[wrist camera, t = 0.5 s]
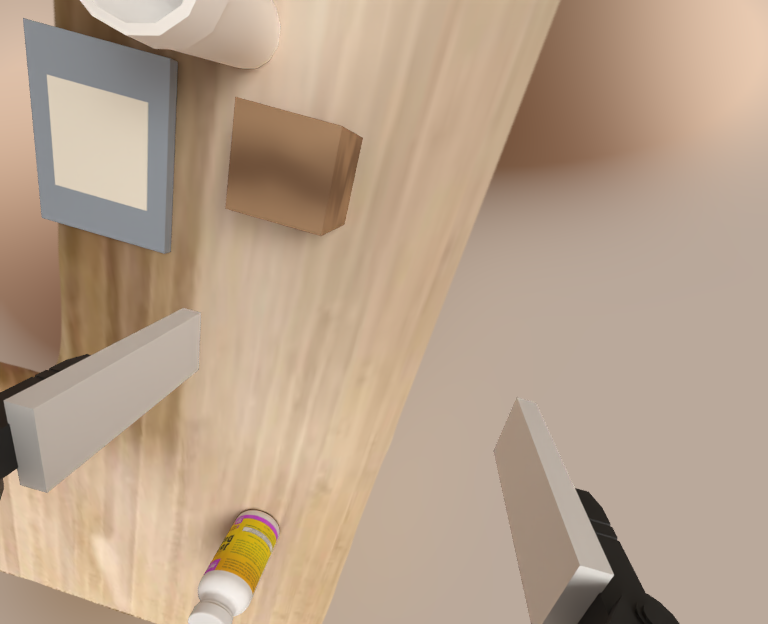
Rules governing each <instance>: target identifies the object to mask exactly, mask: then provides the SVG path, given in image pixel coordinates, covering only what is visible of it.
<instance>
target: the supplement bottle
mask: <svg viewBox="0 0 768 624" xmlns="http://www.w3.org/2000/svg"><path fill="white" fill-rule="evenodd" d="M279 534H280V530H279V526H278V524H277V522H276V521H275V520H274V519H273V518H272V517H271V516H270V515H268V514H266V513H264V512H262V511H258V510H248V511H245V512H243V513H241V514H240V515H239V516H238V517H237V519H236V520H235V522H234V524H233V525H232V527H231V529H230V531H229V532H228V534H227V536H226V537H225V539H224V541H223V543H222V544H221V546H220V548H219V549H218V551H217V553H216V555H215V556H214V558H213V560H212V562H211V563H210V565H209V567H208V568H207V570H206V572H205V574H204V575H203V577H202V579H201V581H200V583H199V586H198V597H199V599H200V602H199V603H198V604H197V605H196V606H195V607H194V609H193V611H192V613H191V614H190V616H189V619H188V623H189V624H232V620H233V616H237V615H239V614H241V613H242V612H244V611H245V610H246V609H247V607H248V606H249V604H250V602H251V600H252V597H253V595H254V593H255V590H256V588H257V586H258V584H259V581H260V579H261V577H262V574H263V572H264V570H265V568H266V565H267V563H268V561H269V559H270V556H271V554H272V552H273V550H274V547H275V545H276V543H277V540H278V538H279Z"/></svg>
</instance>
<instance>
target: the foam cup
mask: <svg viewBox="0 0 768 624" xmlns="http://www.w3.org/2000/svg"><path fill="white" fill-rule="evenodd" d="M80 1H81V2H82V3H83V5H84V6H85V7H86V9H87V10H88V11H89V12H90V14H91V15H92V16H93V17H95V18H97V19H98V20H100V21H102V22H104V23H105V24H107V25H109V26H111V27H112V28H114V29H116V30H118V31H119V32H121V33H123V34H125V35H126V36H128V37H131V38H133V39H135V40H137V41H139V42H141V43H143V44H146V45H148V46H150V47H152V48H154V49H170V50H174V51H178V52H181V53H185V54H189V55H192V56H196V57H200V58H203V59H207V60H211V61H214V62H218V63H222V64H225V65H229V66H233V67H236V68H241V69H257V68H258V67H260V66H262V65H263V64H265V63H267V62H268V61H270V59H271V57H272V56H273V54H274V52H275V51H276V49H277V47H278V44H279V36H280V29H281V26H280V21H279V17H278V12H277V8H276V6H275V4H274V2H273V0H80Z"/></svg>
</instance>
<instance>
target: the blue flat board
mask: <svg viewBox="0 0 768 624" xmlns="http://www.w3.org/2000/svg"><path fill="white" fill-rule="evenodd" d="M23 22H24V33H25V44H26V55H27V66H28V75H29V87H30V98H31V108H32V119H33V129H34V140H35V150H36V160H37V171H38V183H39V192H40V204H41V214H42V218H44V219H48V220H52V221H55V222H58V223H61V224H65V225H68V226H72V227H75V228H79V229H82V230H85V231H89V232H92V233H96V234H99V235H103V236H106V237H109V238H113V239H116V240H120V241H123V242H127V243H130V244H133V245H137V246H140V247H144V248H147V249H151V250H154V251H157V252H161V253H168V252H171V231H172V205H173V178H174V152H175V125H176V99H177V72H178V62H177V61H175V60H173V59H170V58H167V57H163V56H159V55H156V54H152V53H149V52H145V51H141V50H138V49H134V48H130V47H127V46H123V45H119V44H116V43H112V42H108V41H105V40H101V39H97V38H94V37H90V36H87V35H83V34H79V33H76V32H72V31H68V30H65V29H61V28H57V27H54V26H50V25H46V24H43V23H39V22H35V21H32V20H28V19H25V18H23Z"/></svg>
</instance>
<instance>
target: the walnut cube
mask: <svg viewBox="0 0 768 624" xmlns="http://www.w3.org/2000/svg"><path fill="white" fill-rule="evenodd" d="M362 139H363V138H362V137H360V136H358V135H357V134H355V133H353V132H351V131H350V130H348V129H346V128H344V127H343V126H339V125H336V124H332V123H329V122H325V121H321V120H318V119H314V118H310V117H307V116H303V115H300V114H296V113H292V112H289V111H285V110H281V109H278V108H274V107H270V106H267V105H263V104H260V103H256V102H252V101H249V100H245V99H241V98H238V97H235V108H234V119H233V131H232V142H231V153H230V164H229V175H228V186H227V197H226V208H225V209H229V210H232V211H236V212H239V213H243V214H246V215H250V216H253V217H257V218H260V219H264V220H267V221H271V222H274V223H278V224H281V225H285V226H288V227H292V228H295V229H299V230H302V231H306V232H309V233H313V234H316V235H320V236H322V235H324V234H326V233H328V232H330V231H332V230H334V229H336V228H338V227H340V226H342V225H344V224H345V219H346V214H347V210H348V205H349V200H350V196H351V191H352V186H353V181H354V177H355V172H356V167H357V163H358V158H359V153H360V149H361V144H362Z"/></svg>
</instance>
